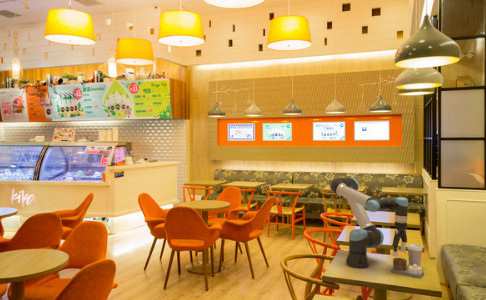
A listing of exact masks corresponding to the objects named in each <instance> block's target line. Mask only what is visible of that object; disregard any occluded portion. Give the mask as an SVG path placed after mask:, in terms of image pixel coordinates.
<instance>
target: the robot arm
mask: <svg viewBox="0 0 486 300" xmlns="http://www.w3.org/2000/svg"><path fill="white" fill-rule="evenodd" d="M359 187H360V185H359V182H358V180H357V179H356V178H354V177H349V176H346V177H335V178H334V179H332V180H331V181H330V184H329V189H330V191H331V192H332V193H333V194H334V195H337V196H339V197H341V196H342V197H343V198H344V199H346V200H347V202H348V205H349V207H350V209H351V211H352V213H353V215H354V217H355V219H356V220H355V221H356V222H357V224H358V226H359V228H354V229H352V230H350V232H349V235H348V254H347V256H346V259H345V264H346V266H348V267H350V268H354V269H355V268H357V269H366V268H369V267H370V261H369V258H368V255H367V253H368V252H367V251H368V249H370V248H377V247H379V246H382V244H383V243H384V240H385V237H384V233H383V232H382V231H383V230H381V229H378V228H377V226H376V225H375V224H373V223H372V221H371V218H370V217H369V215H368V213H367V211H368V212H371V213H372V212H373V213H376V212H384V211H392V212H394V228H396V230H394V235H393V240H392V244H391V246H392V247H393V249H392V250H393V252H392V253H393V254H392V257H394V258H399V243H400V252H401V253H406V244H407V243H408V236H407V235H408V234H407V228H408V220H409V218H408V216H409V215H408V212H409V199H408V198H407V197H400V196H399V197H396V198H395V199H393V198H388V197H381V198H380V199H377V198H373V197H372V196H370V195H367V194H366V193H363V192H361V191H359V189H360V188H359ZM365 208H366V209H365ZM366 210H367V211H366ZM400 240H401V242H400Z"/></svg>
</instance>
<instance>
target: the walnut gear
mask: <svg viewBox="0 0 486 300" xmlns="http://www.w3.org/2000/svg"><path fill="white" fill-rule="evenodd" d="M392 261H393V262H392V265H393V266H392V268H395V270H399V271H401V270H403V271H405V270H406V269H407V268H408V265H407V263H408V262H407V261H408V260H407V259H406V258H401V257H394V258H393V260H392Z"/></svg>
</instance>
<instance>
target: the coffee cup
mask: <svg viewBox="0 0 486 300" xmlns="http://www.w3.org/2000/svg"><path fill="white" fill-rule="evenodd" d="M406 250H407V253H408V266H410V265H411V266H413V264H417V266H419V267H420V268H421V261H422V255H423V254H422V253H423V247H422V245H419V244H414V243H413V244H412V243H411V244H408V245H407V249H406Z"/></svg>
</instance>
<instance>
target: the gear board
mask: <svg viewBox="0 0 486 300" xmlns="http://www.w3.org/2000/svg"><path fill="white" fill-rule="evenodd" d="M390 273H394V274H398V275H403V276H406V277H410V278H414V279H422V277H424V276H425V271H423V268H422V267H421V266H420V267H419V266H417V264H413V266H411V265H410V266H409V265H407V269H406V270H405V271H403V270H401V271H399V270H395V268H393V267H391V268H390Z"/></svg>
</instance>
